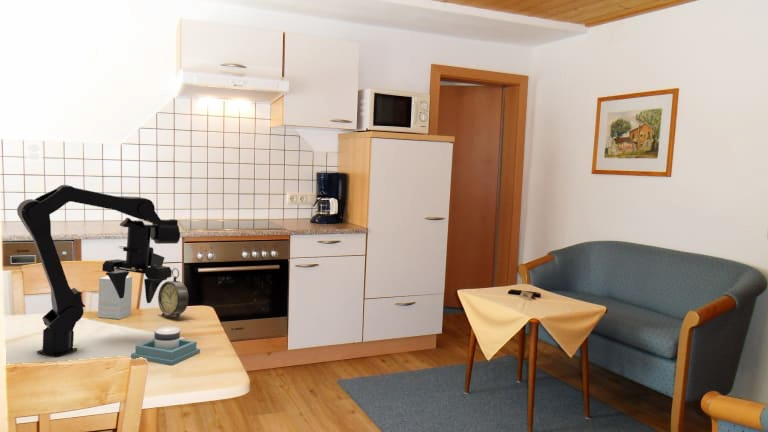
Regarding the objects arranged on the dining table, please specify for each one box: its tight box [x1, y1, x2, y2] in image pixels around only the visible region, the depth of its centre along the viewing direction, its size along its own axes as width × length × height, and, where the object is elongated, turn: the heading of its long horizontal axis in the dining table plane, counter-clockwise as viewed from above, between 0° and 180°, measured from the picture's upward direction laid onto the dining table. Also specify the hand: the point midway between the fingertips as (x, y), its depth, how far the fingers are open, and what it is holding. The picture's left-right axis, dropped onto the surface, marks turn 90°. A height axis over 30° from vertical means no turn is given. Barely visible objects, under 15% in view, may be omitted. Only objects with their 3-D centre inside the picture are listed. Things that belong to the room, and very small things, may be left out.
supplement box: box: [97, 275, 133, 320], centre depth 185 cm, size 7×7×13 cm
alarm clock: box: [157, 267, 190, 321], centre depth 188 cm, size 11×5×16 cm, turn 54°
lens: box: [153, 325, 181, 351], centre depth 151 cm, size 6×6×6 cm
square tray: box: [130, 338, 201, 366], centre depth 151 cm, size 12×12×3 cm
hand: (135, 300), depth 158 cm, fingers open, 9 cm apart
